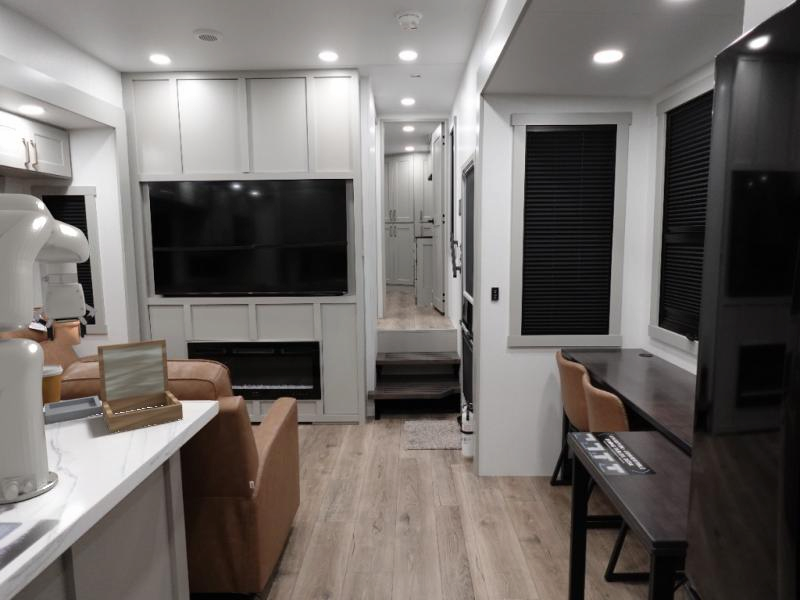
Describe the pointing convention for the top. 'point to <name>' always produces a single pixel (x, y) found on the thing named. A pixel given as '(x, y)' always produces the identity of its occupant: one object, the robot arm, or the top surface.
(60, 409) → the slate tray
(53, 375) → the disposable coffee cup
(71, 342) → the terracotta pot
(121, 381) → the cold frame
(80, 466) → the top surface
